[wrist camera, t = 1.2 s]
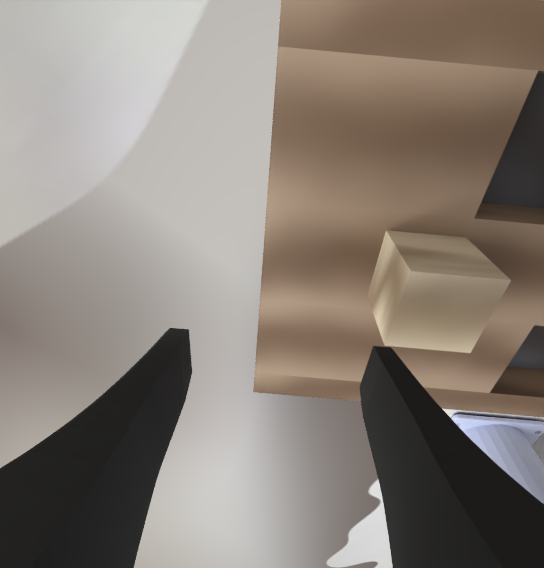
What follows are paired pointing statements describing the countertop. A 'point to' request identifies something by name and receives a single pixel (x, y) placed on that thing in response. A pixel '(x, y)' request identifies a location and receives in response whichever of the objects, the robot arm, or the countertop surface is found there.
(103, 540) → the robot arm
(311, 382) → the trap deck
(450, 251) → the beech cube
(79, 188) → the countertop surface
